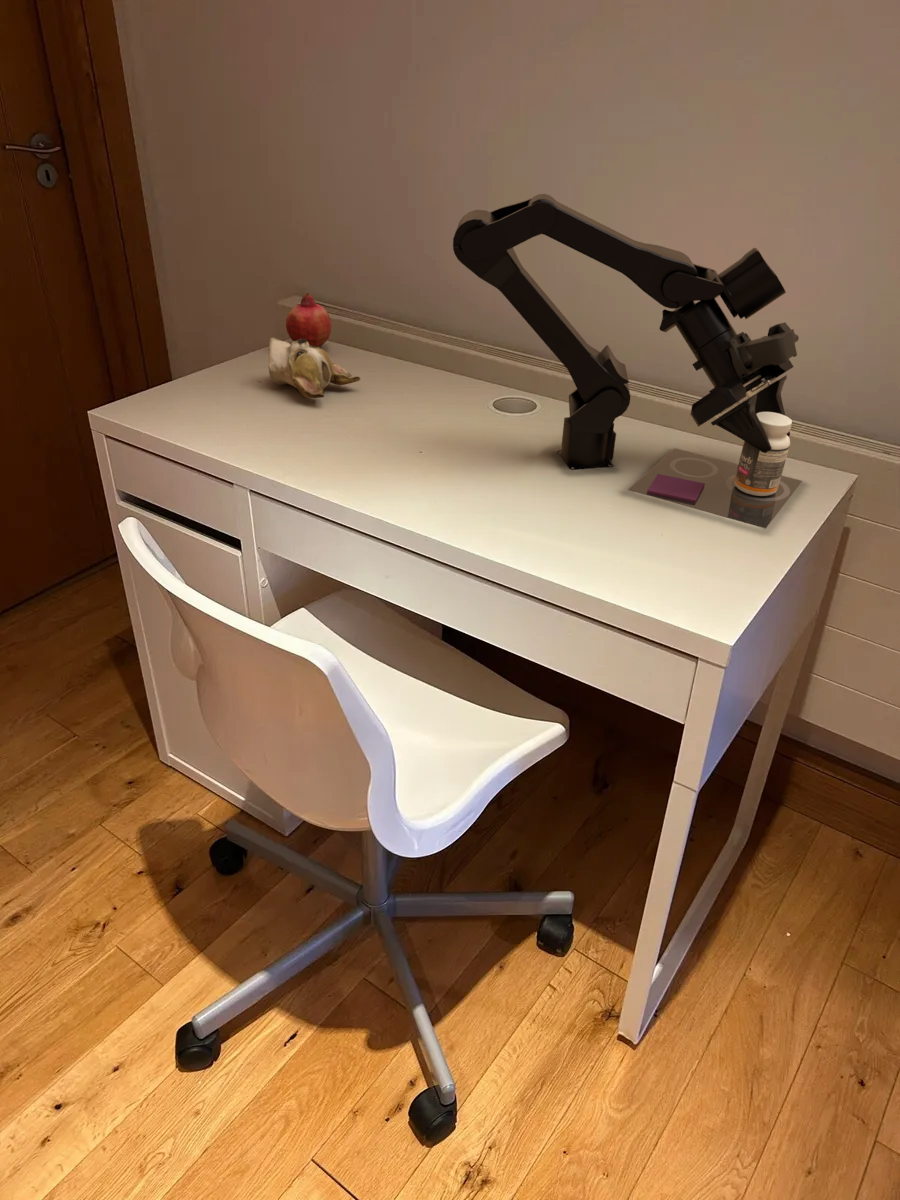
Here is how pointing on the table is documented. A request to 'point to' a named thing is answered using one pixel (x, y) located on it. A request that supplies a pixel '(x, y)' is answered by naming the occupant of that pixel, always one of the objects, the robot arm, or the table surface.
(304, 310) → the fruit
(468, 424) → the table surface
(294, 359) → the ceramic sculpture
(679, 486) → the plum cloth
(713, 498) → the hob
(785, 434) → the pill bottle
